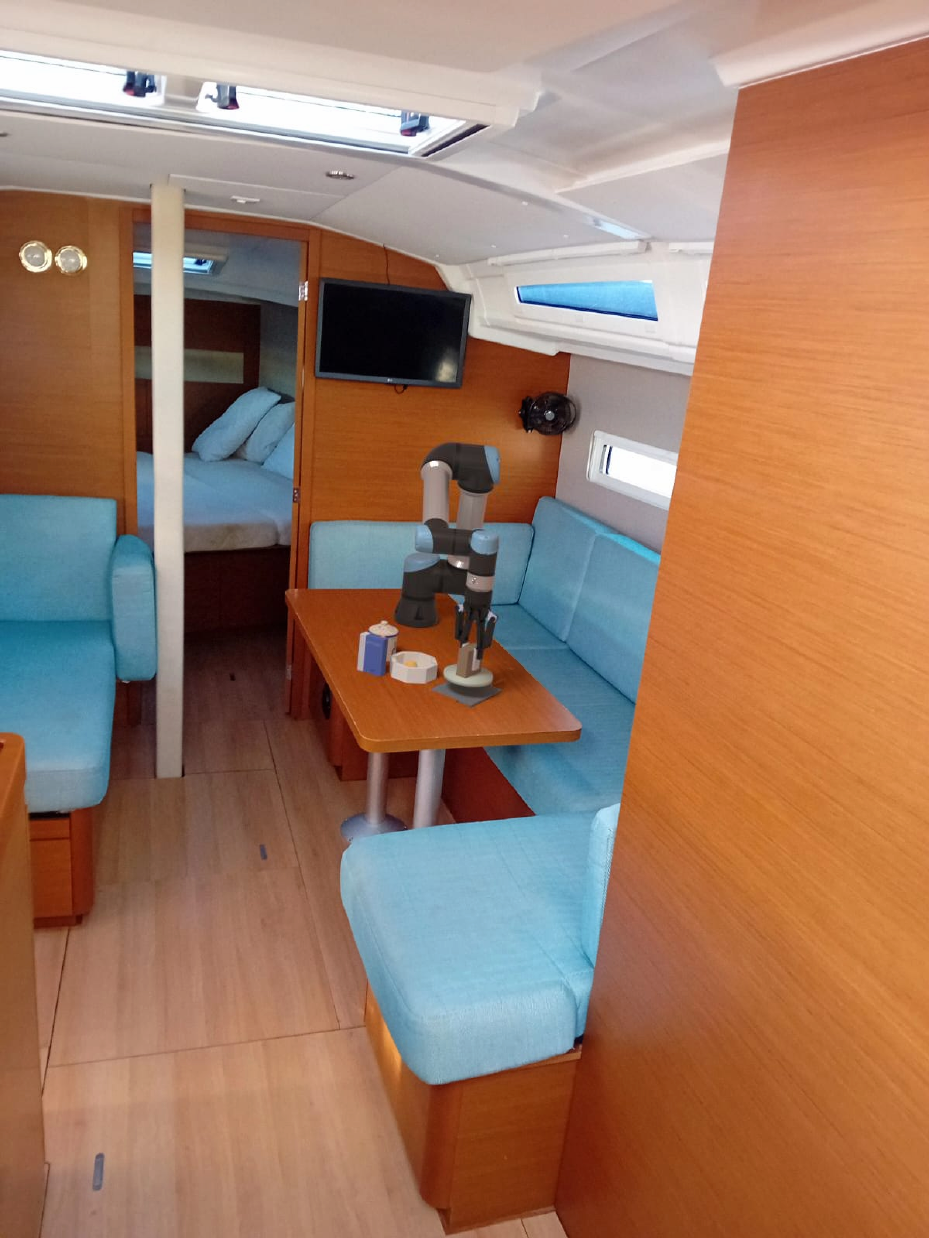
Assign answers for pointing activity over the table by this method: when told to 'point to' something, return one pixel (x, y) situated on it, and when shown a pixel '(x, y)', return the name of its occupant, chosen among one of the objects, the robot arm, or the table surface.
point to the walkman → (372, 653)
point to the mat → (466, 692)
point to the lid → (467, 670)
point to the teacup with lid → (389, 633)
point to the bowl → (413, 674)
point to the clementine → (411, 664)
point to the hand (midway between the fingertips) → (469, 667)
